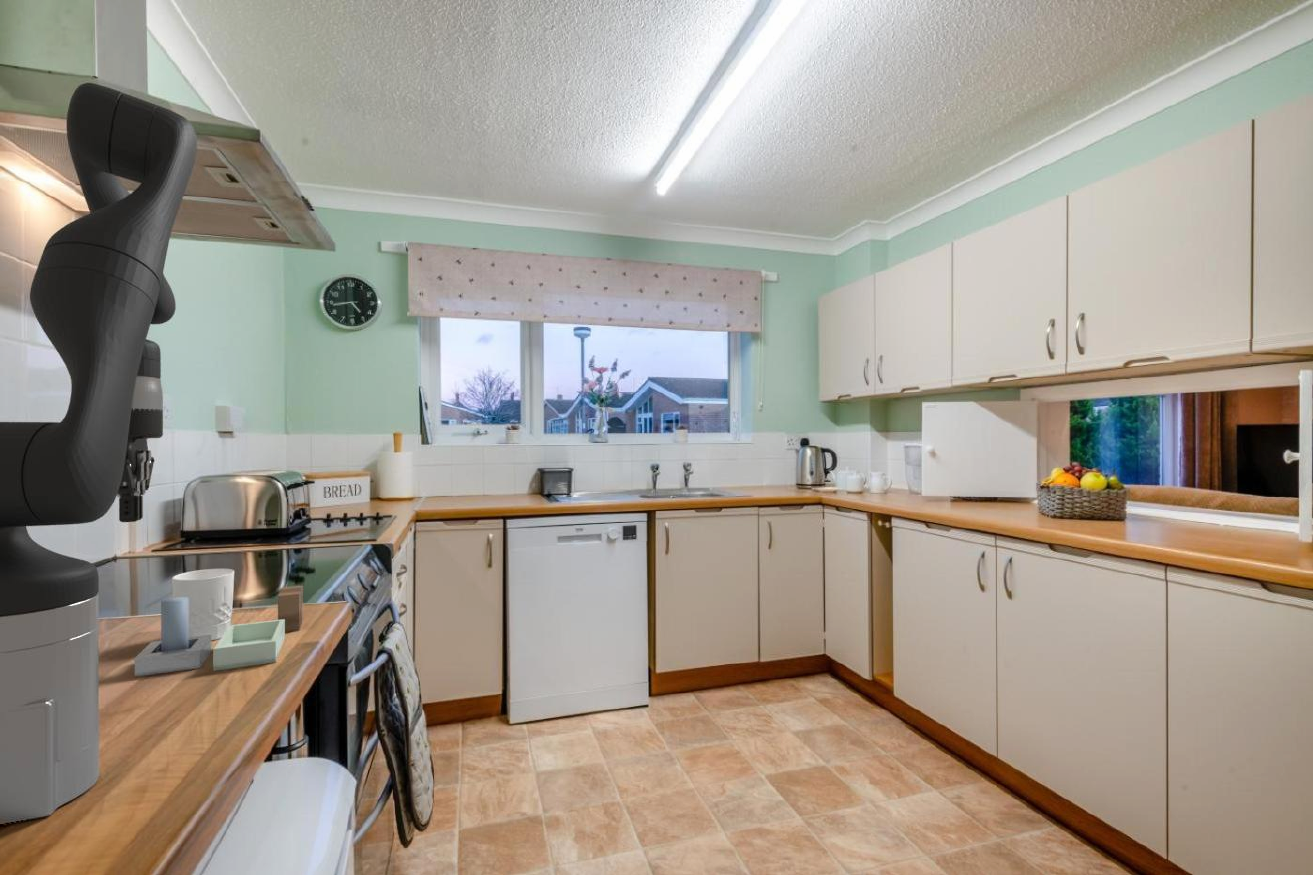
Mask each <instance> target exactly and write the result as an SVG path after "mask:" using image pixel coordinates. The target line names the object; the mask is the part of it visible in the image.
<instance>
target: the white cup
mask: <svg viewBox="0 0 1313 875" xmlns="http://www.w3.org/2000/svg"><path fill="white" fill-rule="evenodd" d="M171 580H172V582H171V583H172V595H173V597H172V598H174V597H188V598H189V637H196V636H204V635H211V642H212V641H217V640H220V639H221V637H222V636H223V634H224V633H225V631H226V630H227V629H228V627H229V626H230V625H232V624H231V620H232V616H233V605H234V604H233V601H234V585H235V570H234V569H231V568H210V569H209V568H208V569H207V568H206V569H200V570H199V569H198V570H193V571H192V570H191V571H186V572H182V573H180V574H176V575H173V577H172V578H171Z"/></svg>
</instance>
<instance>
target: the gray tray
mask: <svg viewBox="0 0 1313 875" xmlns="http://www.w3.org/2000/svg"><path fill="white" fill-rule="evenodd" d="M211 653H212V641H211V635H204V636H196V637H189V649H182V650H174V651H166V652H161V640H155V641H151V642H149V643H148V645H146V646H145V648H143V650H141V652H139V653H138V655H137V656H136V657H134V677H135V678H137V677H145V676H153V675H158V674H159V675H161V674H166V673H174V672H181V671H188V670H195V669H200V668H201V667H202V666H203V664H204V663H205V662H206V660H207V658H208V657H209V656H210V654H211Z"/></svg>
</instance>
